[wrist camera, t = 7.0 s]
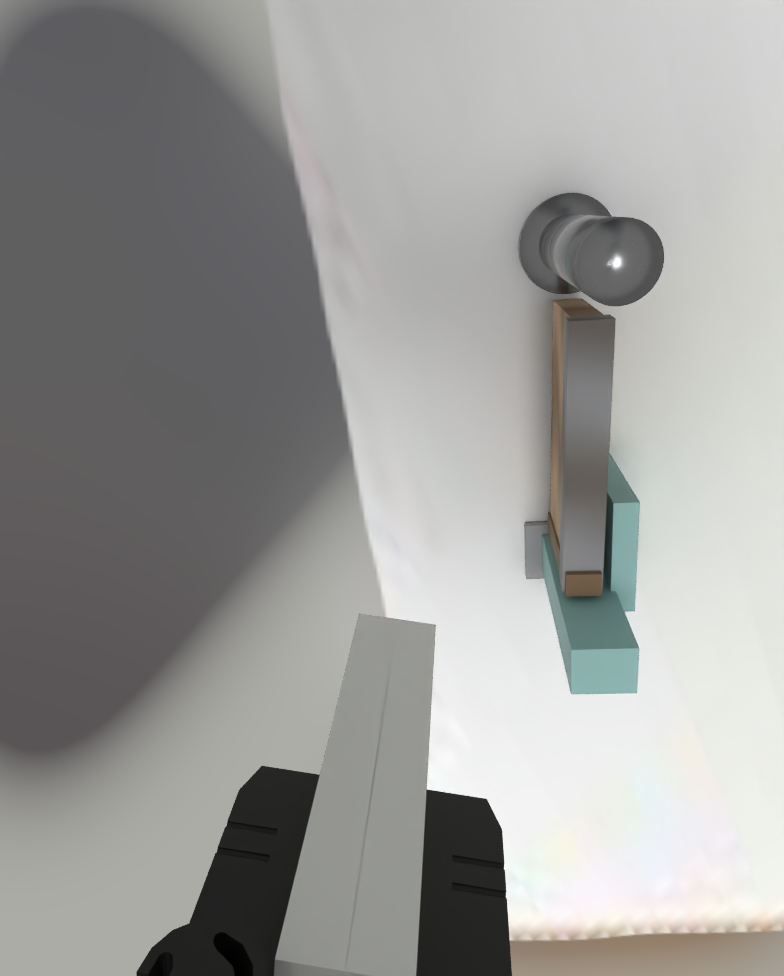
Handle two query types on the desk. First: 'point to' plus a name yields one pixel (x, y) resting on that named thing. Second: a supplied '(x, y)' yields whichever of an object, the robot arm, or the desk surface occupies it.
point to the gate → (580, 443)
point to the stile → (596, 599)
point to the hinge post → (590, 251)
